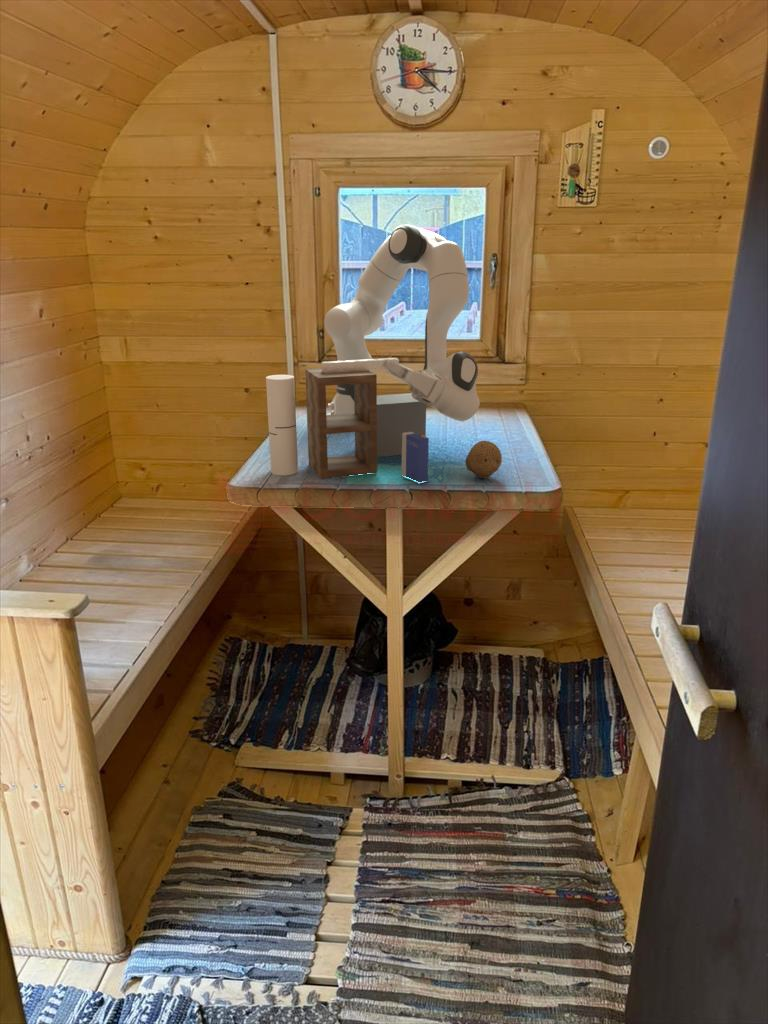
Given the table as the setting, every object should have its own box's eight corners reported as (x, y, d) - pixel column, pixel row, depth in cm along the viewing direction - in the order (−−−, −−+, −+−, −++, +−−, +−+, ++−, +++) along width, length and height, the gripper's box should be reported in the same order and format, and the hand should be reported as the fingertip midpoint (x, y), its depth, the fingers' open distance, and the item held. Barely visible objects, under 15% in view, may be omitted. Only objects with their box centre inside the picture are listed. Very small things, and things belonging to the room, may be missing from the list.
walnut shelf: (308, 464, 207) (305, 368, 198) (361, 459, 212) (360, 365, 203) (321, 479, 195) (318, 378, 186) (376, 473, 199) (376, 374, 190)
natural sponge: (504, 484, 191) (506, 445, 188) (469, 484, 191) (470, 446, 187) (496, 473, 200) (498, 436, 196) (463, 474, 199) (464, 437, 196)
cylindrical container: (293, 475, 198) (289, 380, 189) (267, 474, 199) (262, 379, 190) (301, 468, 204) (297, 375, 196) (275, 466, 206) (270, 374, 197)
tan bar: (321, 371, 194) (321, 361, 193) (395, 367, 200) (395, 357, 199) (324, 373, 192) (324, 363, 191) (398, 369, 198) (399, 359, 197)
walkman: (427, 482, 192) (428, 436, 188) (419, 484, 191) (419, 438, 187) (410, 475, 198) (410, 430, 194) (401, 476, 197) (401, 431, 193)
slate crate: (359, 447, 225) (359, 396, 219) (410, 442, 229) (411, 393, 224) (372, 457, 214) (371, 404, 209) (425, 452, 219) (426, 401, 213)
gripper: (418, 369, 212) (377, 346, 206) (446, 382, 194) (402, 357, 188) (407, 389, 213) (366, 367, 207) (434, 404, 195) (390, 379, 189)
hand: (383, 362), depth 197 cm, fingers closed on tan bar, 3 cm apart
